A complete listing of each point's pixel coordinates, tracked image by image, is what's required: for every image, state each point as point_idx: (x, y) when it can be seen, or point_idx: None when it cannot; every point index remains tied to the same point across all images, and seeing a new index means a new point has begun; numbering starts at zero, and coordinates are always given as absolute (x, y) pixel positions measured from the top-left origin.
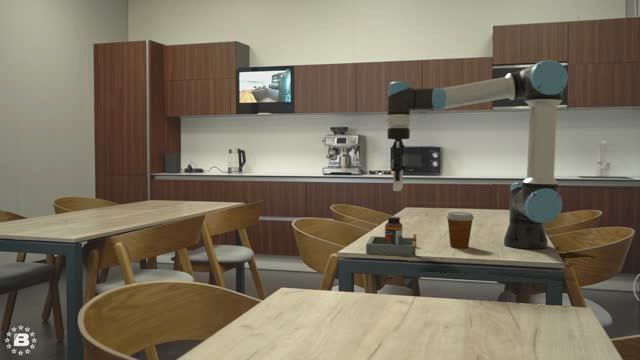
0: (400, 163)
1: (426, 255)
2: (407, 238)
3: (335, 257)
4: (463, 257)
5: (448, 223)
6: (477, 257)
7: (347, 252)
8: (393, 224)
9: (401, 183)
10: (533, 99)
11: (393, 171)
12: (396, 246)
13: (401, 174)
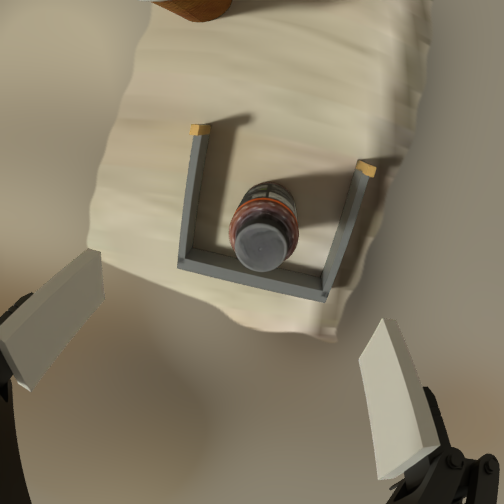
0: (494, 498)
1: (369, 129)
2: (199, 155)
3: None
4: (394, 39)
5: (177, 2)
6: (389, 6)
7: (310, 326)
8: (291, 244)
9: (80, 278)
10: None
11: (395, 476)
12: (353, 222)
13: (431, 420)
